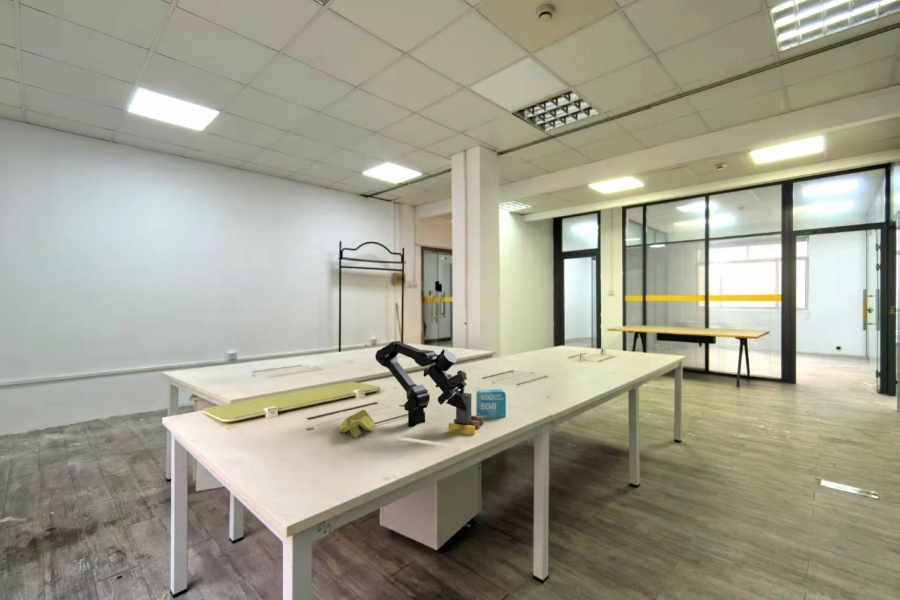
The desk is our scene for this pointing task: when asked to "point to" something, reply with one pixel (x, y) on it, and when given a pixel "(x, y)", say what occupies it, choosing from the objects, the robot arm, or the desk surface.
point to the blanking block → (461, 415)
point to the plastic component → (357, 423)
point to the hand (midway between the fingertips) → (467, 409)
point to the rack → (467, 426)
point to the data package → (491, 403)
